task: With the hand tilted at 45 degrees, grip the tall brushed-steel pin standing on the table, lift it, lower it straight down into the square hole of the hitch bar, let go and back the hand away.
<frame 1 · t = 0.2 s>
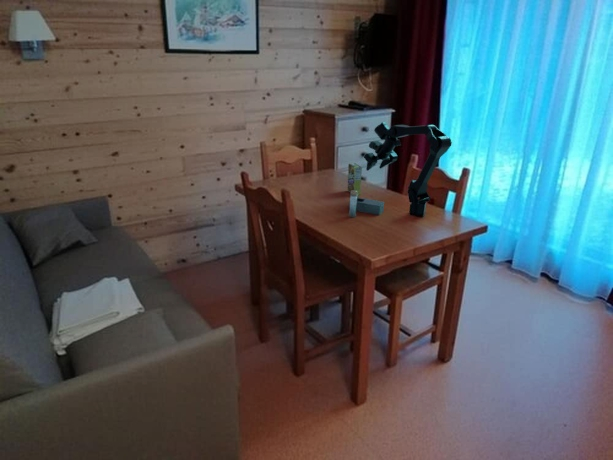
hand: (373, 169, 232), 15 cm above the table, tool tilted 35°, fingers open, 9 cm apart
candy box: (353, 193, 243), on the table
steel pin: (352, 216, 209), on the table
hitch bar: (366, 210, 217), on the table
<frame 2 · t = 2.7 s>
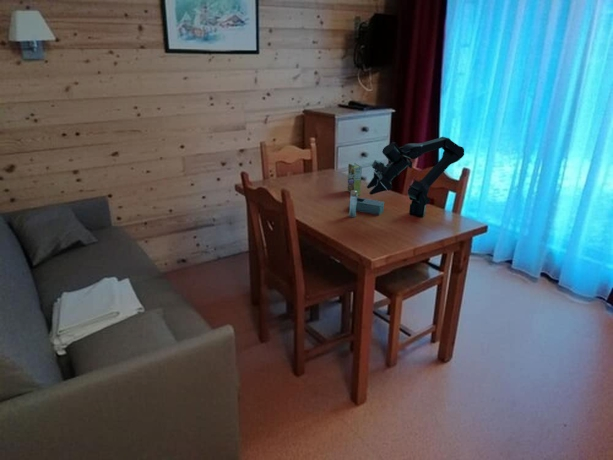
hand: (368, 190, 205), 12 cm above the table, tool tilted 45°, fingers open, 9 cm apart
nothing on the table moved.
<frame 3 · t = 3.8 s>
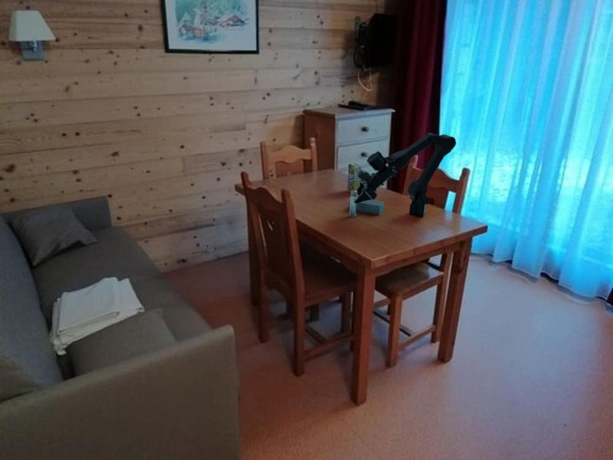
hand: (354, 199, 206), 8 cm above the table, tool tilted 45°, fingers open, 9 cm apart
nothing on the table moved.
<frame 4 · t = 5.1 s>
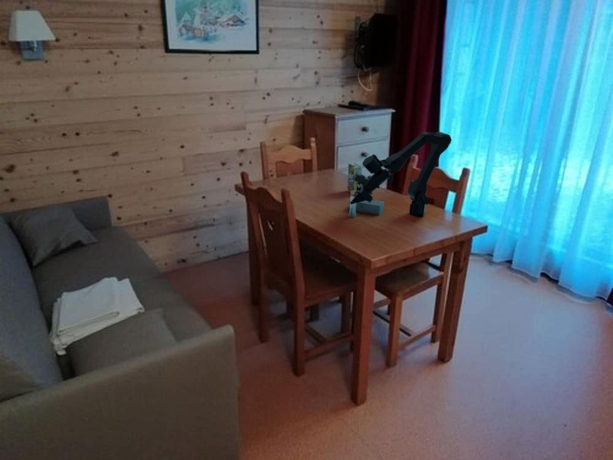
hand: (350, 202, 207), 7 cm above the table, tool tilted 45°, fingers closed on steel pin, 3 cm apart
steel pin: (352, 216, 209), on the table, touching gripper
everything else where it was.
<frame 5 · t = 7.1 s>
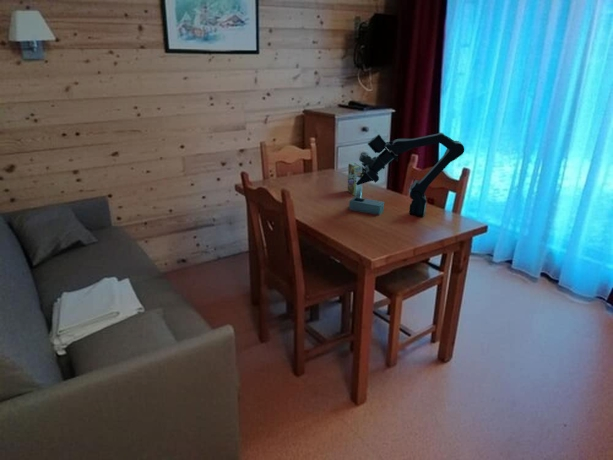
hand: (356, 183, 212), 13 cm above the table, tool tilted 45°, fingers closed on steel pin, 3 cm apart
steel pin: (358, 196, 214), point 7 cm above the table, touching gripper
everything else where it was.
when the fingers open (8 cm above the table, at t = 8.9 s): steel pin drops 1 cm, resting in hitch bar.
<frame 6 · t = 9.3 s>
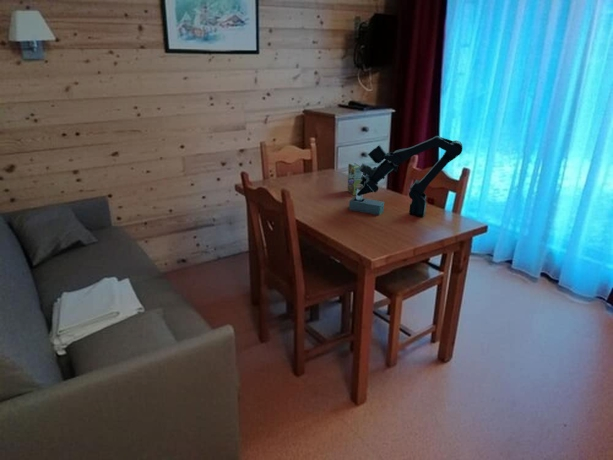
hand: (356, 192, 216), 8 cm above the table, tool tilted 45°, fingers open, 7 cm apart
steel pin: (358, 208, 219), resting in hitch bar
everything else where it was.
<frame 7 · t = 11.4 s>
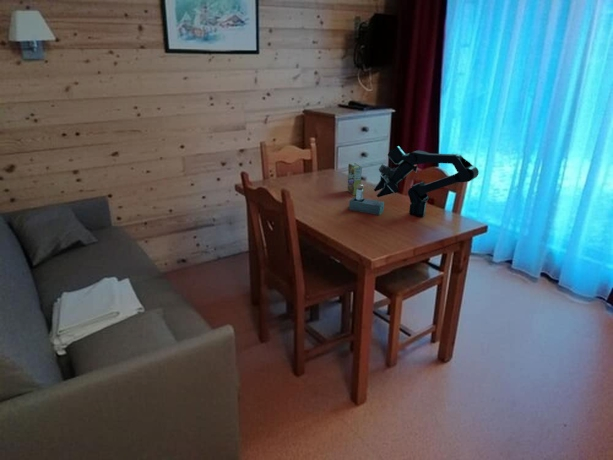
hand: (375, 193, 216), 8 cm above the table, tool tilted 45°, fingers open, 9 cm apart
nothing on the table moved.
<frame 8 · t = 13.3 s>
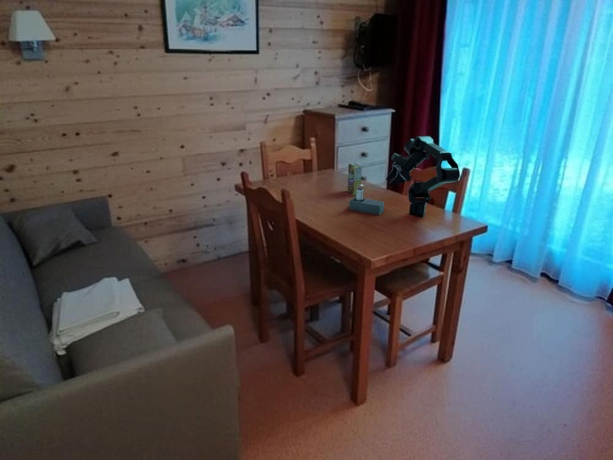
hand: (387, 182, 214), 14 cm above the table, tool tilted 45°, fingers open, 9 cm apart
nothing on the table moved.
at the end: steel pin 0.0 cm from the target spot on the hitch bar, point 0.0 cm above the hitch bar's base; steel pin tilted 0°; the gripper is holding nothing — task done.
